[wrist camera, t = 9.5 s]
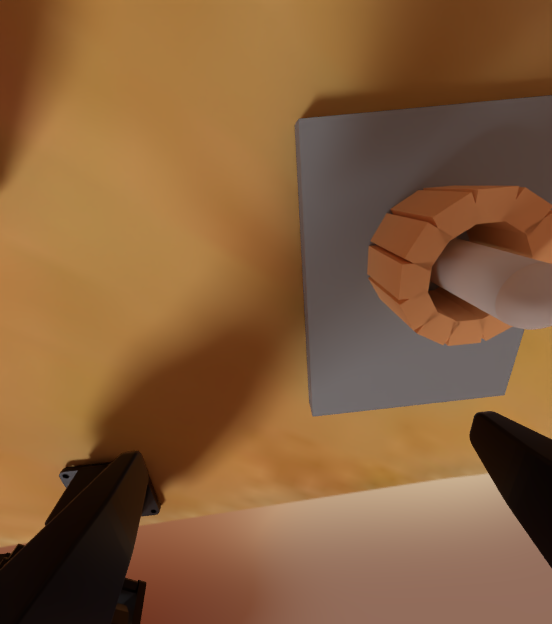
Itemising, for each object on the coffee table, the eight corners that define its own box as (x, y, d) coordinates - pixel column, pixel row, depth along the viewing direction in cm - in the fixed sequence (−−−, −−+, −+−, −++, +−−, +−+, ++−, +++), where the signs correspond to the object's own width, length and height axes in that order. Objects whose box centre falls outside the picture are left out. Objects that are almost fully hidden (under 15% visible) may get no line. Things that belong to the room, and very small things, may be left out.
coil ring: (477, 305, 18) (534, 337, 14) (364, 316, 17) (393, 351, 14) (505, 180, 15) (587, 179, 11) (371, 193, 15) (409, 195, 11)
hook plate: (489, 382, 22) (630, 503, 14) (309, 402, 22) (341, 537, 13) (565, 99, 15) (972, -13, 6) (294, 125, 14) (346, 43, 6)
